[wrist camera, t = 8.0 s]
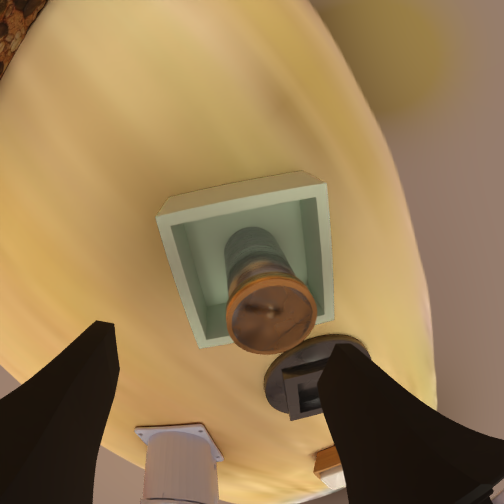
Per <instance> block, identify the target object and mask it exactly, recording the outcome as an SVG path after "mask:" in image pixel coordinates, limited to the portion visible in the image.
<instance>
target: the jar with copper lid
mask: <svg viewBox="0 0 504 504" xmlns="http://www.w3.org/2000/svg"><path fill="white" fill-rule="evenodd" d="M224 258H225V268H226V278H227V288H228V297H229V299H228V301H227V305H226V322H227V330H228V333H229V335H230V337H231V339H232V340H233V341H234V342H235V344H237V345H238V346H239V347H240V348H242V349H244V350H246V351H248V352H251V353H255V354H263V355H268V354H276V353H281V352H284V351H287V350H289V349H291V348H293V347H295V346H296V345H298V344H299V343H301V342H302V341H303V340H304V339H305V338H306V337H307V336H308V335H309V334H310V332H311V331H312V329H313V327H314V325H315V322H316V319H317V306H316V303H315V300H314V298H313V297H312V295H311V293H310V291H309V290H308V288H307V286H306V285H305V284H304V283H303V282H302V281H301V280H300V279H299V278H297V277H296V275H295V273H294V272H293V270H292V268H291V266H290V264H289V263H288V261H287V259H286V257H285V255H284V253H283V252H282V250H281V248H280V246H279V244H278V243H277V241H276V239H275V238H274V236H273V235H272V234H271V233H270V232H268V231H267V230H265V229H263V228H259V227H246V228H243V229H240V230H238V231H237V232H235V233H234V234H233V235H232V236H231V237H230V238H229V239H228V241H227V243H226V245H225V249H224Z"/></svg>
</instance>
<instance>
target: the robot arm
mask: <svg viewBox="0 0 504 504" xmlns="http://www.w3.org/2000/svg"><path fill="white" fill-rule="evenodd" d="M119 371H120V367H119V360H118V353H117V345H116V336H115V327H114V324H113V323H108V322H102V321H97V320H96V321H95V322H94V323H93V324H92V325H90V326H89V327H88V328H87V329H86V330H85V331H84V332H83V333H82V334H81V335H80V336H79V337H77V338H76V339H75V340H74V341H73V342H72V343H71V344H70V345H69V346H68V347H67V348H65V349H64V350H63V351H62V352H61V353H60V354H59V355H58V356H57V357H55V358H54V359H53V360H52V361H51V362H50V363H49V364H47V365H46V366H45V367H44V368H42V369H41V370H40V371H39V372H38V373H36V374H35V375H34V376H33V377H32V378H30V379H29V380H28V381H26V382H25V383H24V384H22V385H21V386H20V387H18V388H17V389H15V390H14V391H12V392H11V393H9V394H8V395H6V396H5V397H3V398H2V399H0V504H92V502H93V486H94V476H95V467H96V460H97V455H98V451H99V446H100V443H101V440H102V436H103V433H104V429H105V426H106V422H107V419H108V416H109V412H110V409H111V406H112V403H113V399H114V396H115V391H116V386H117V381H118V376H119ZM317 387H318V392H319V398H320V402H321V407H322V410H323V413H324V416H325V419H326V422H327V425H328V428H329V430H330V433H331V436H332V439H333V441H334V444H335V447H336V450H337V453H338V455H339V458H340V462H341V465H342V469H343V473H344V478H345V483H346V488H347V494H348V500H349V504H504V489H503V490H501V491H500V492H499V493H498V494H497V495H495V496H494V497H492V498H491V499H490V497H489V496H490V495H491V494H493V489H492V488H493V487H494V486H495V485H496V484H498V483H499V482H500V481H501V480H502V479H503V478H504V440H502V439H498V438H494V437H490V436H487V435H484V434H482V433H479V432H476V431H474V430H471V429H469V428H467V427H465V426H463V425H460V424H458V423H456V422H454V421H452V420H451V419H449V418H446V417H445V416H443V415H441V414H440V413H438V412H437V411H435V410H434V409H432V408H431V407H429V406H427V405H426V404H425V403H423V402H422V401H420V400H419V399H418V398H416V397H415V396H414V395H412V394H411V393H410V392H408V391H407V390H406V389H405V388H403V387H402V386H401V385H400V384H398V383H397V382H396V381H395V380H394V379H392V378H391V377H390V376H389V375H388V374H387V373H385V372H384V371H383V370H382V369H381V368H380V367H378V366H377V365H376V364H375V363H374V362H373V361H372V360H370V359H369V358H368V357H367V356H366V355H365V354H364V353H362V352H361V351H360V350H359V349H357V348H356V347H355V346H354V345H352V344H351V343H336V344H335V346H334V348H333V351H332V353H331V355H330V357H329V359H328V361H327V364H326V366H325V368H324V370H323V372H322V374H321V376H320V378H319V380H318V382H317ZM134 431H135V433H136V434H137V435H138V436H139V437H140V438H141V439H142V441H143V442H144V443H145V444H146V445H147V455H146V465H145V476H144V488H143V499H141V500H140V504H218V500H219V492H218V478H217V463H216V462H220V461H223V460H224V457H223V456H222V454H221V453H220V451H219V449H218V448H217V446H216V445H215V443H214V442H213V440H212V438H211V437H210V435H209V434H208V432H207V430H206V429H205V427H204V426H203V425H202V424H192V425H180V426H165V427H137V428H135V430H134Z"/></svg>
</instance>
